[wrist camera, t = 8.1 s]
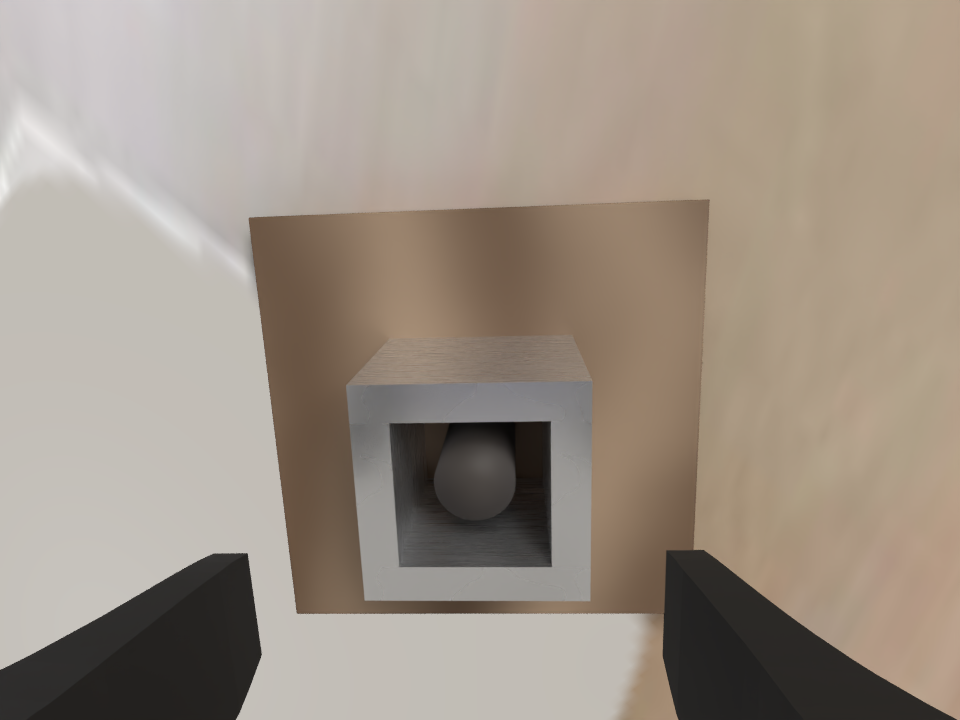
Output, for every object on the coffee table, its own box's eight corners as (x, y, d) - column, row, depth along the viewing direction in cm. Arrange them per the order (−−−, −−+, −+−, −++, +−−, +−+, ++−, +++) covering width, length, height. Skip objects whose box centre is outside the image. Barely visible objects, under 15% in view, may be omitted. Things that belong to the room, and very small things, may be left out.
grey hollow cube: (400, 504, 20) (364, 600, 15) (389, 338, 19) (346, 385, 14) (571, 503, 20) (590, 601, 15) (571, 334, 19) (592, 381, 14)
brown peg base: (308, 592, 22) (248, 704, 17) (264, 216, 19) (177, 221, 14) (681, 591, 22) (731, 708, 17) (697, 199, 19) (765, 198, 14)
